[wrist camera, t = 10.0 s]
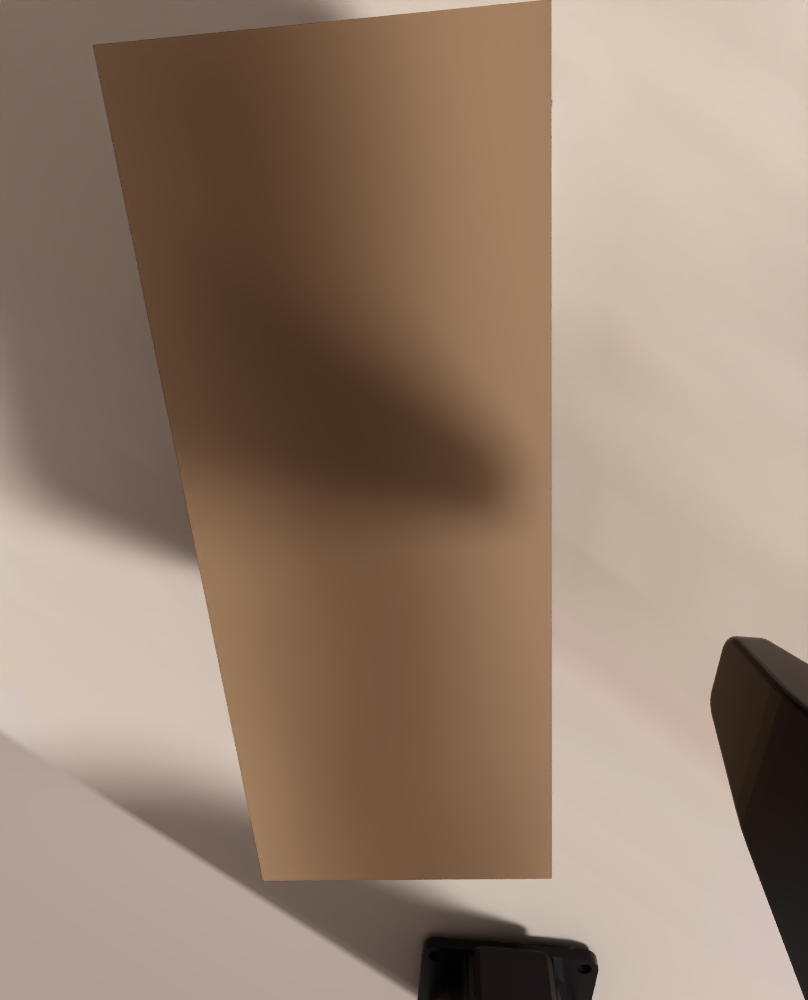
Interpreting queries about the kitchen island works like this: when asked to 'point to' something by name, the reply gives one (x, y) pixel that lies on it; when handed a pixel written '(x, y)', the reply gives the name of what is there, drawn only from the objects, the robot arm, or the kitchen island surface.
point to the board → (362, 418)
